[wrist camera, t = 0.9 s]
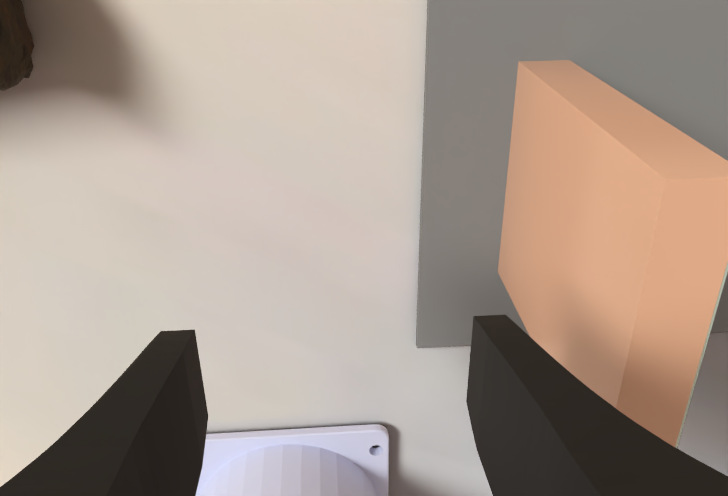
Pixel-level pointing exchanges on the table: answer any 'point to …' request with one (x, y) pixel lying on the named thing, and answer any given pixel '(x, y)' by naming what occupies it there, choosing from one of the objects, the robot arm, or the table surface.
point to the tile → (613, 241)
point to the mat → (495, 116)
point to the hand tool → (14, 44)
